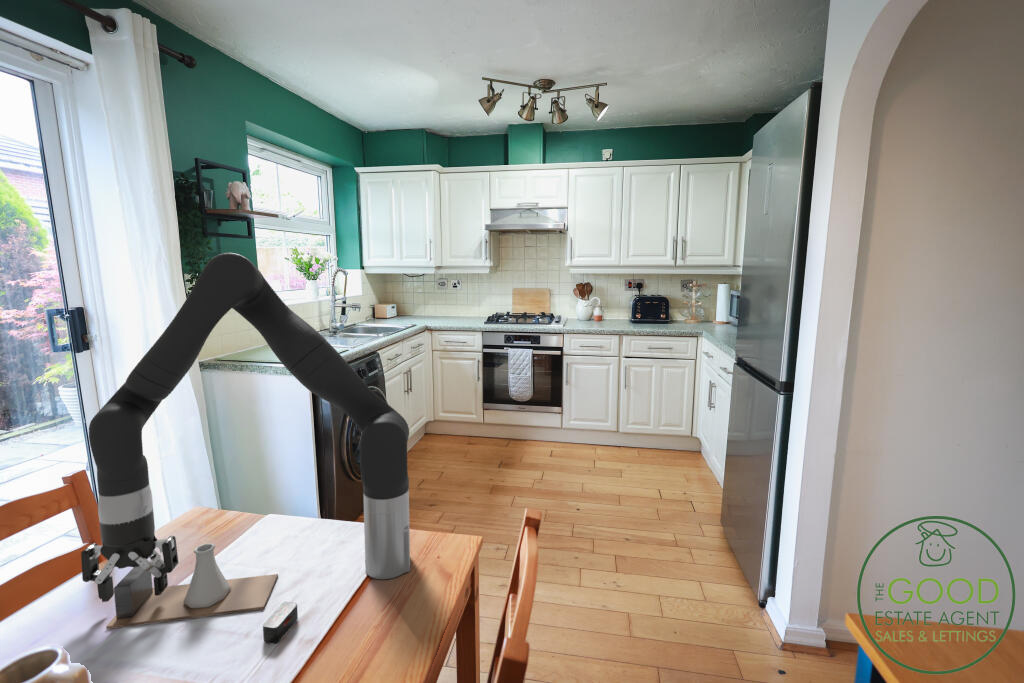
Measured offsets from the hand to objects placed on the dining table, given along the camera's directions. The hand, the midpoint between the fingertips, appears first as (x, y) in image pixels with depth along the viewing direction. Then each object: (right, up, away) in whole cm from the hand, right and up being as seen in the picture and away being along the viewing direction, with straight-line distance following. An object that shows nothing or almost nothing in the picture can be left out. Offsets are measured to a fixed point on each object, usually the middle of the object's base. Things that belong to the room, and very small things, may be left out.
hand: (134, 595), depth 86 cm
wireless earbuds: (+29, -4, -4) cm, 29 cm away
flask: (+12, -2, +3) cm, 12 cm away
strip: (+10, -2, +3) cm, 11 cm away
